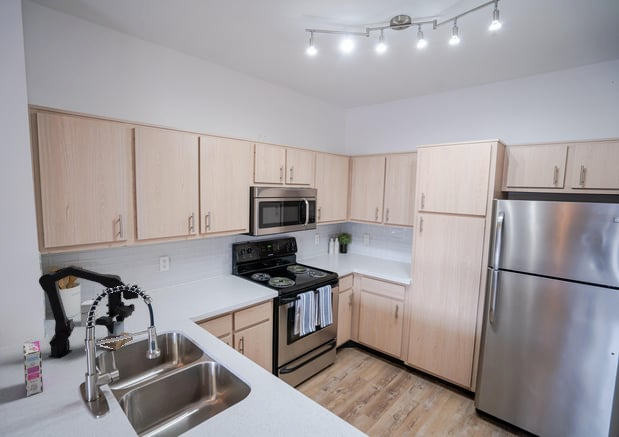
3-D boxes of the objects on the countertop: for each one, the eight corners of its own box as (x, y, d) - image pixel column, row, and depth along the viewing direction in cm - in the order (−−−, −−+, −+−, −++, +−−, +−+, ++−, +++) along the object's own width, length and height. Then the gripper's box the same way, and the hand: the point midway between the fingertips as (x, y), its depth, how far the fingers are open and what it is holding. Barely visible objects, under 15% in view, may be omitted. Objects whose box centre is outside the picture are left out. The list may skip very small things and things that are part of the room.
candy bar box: (44, 391, 116) (41, 350, 114) (26, 397, 112) (23, 355, 111) (41, 378, 124) (39, 339, 122) (25, 383, 120) (22, 344, 119)
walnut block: (116, 350, 146) (115, 343, 146) (99, 348, 149) (99, 340, 148) (132, 341, 156) (132, 333, 156) (116, 338, 158) (116, 331, 158)
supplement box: (80, 326, 171) (79, 304, 169) (86, 321, 178) (85, 300, 177) (95, 325, 172) (94, 303, 171) (100, 319, 180) (100, 299, 179)
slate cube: (116, 336, 149) (116, 326, 149) (107, 335, 150) (107, 325, 149) (124, 331, 154) (123, 322, 153) (115, 330, 155) (115, 321, 154)
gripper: (115, 309, 140) (116, 341, 141) (142, 295, 159) (143, 324, 160) (93, 307, 141) (94, 339, 143) (123, 294, 160) (124, 323, 161)
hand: (115, 331), depth 152 cm, fingers closed on slate cube, 5 cm apart
